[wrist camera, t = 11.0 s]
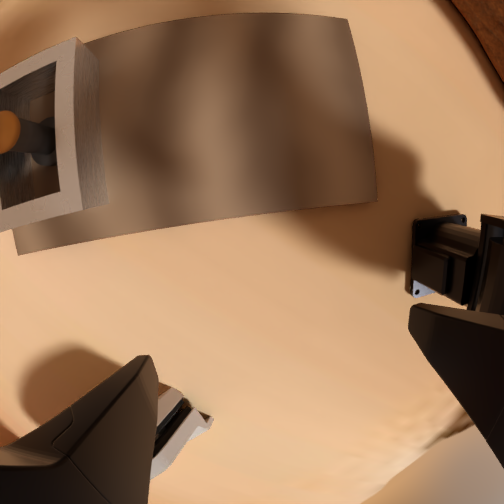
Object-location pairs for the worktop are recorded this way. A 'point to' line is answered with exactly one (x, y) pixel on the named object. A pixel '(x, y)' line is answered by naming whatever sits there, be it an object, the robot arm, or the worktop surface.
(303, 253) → the worktop surface
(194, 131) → the board
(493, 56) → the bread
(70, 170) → the hollow metal box
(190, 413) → the grey rounded block
